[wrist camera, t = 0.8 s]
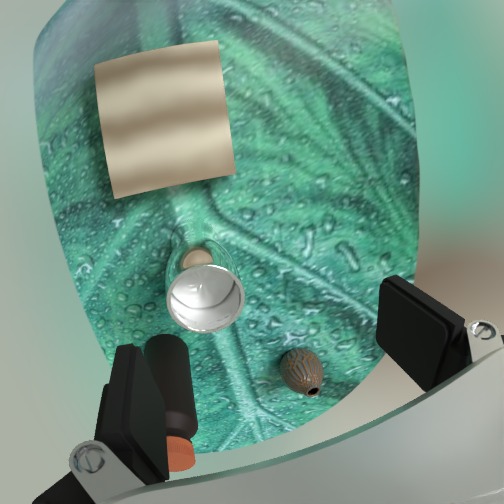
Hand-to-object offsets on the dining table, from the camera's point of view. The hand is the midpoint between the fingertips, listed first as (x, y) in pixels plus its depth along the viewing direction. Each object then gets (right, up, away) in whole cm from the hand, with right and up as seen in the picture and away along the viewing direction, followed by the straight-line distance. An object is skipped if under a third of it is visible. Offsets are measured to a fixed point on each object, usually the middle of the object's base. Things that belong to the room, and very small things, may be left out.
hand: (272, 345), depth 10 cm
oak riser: (-11, +19, +21) cm, 30 cm away
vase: (+6, -15, +39) cm, 42 cm away
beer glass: (-8, +5, +28) cm, 29 cm away
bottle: (-14, -12, +33) cm, 37 cm away
